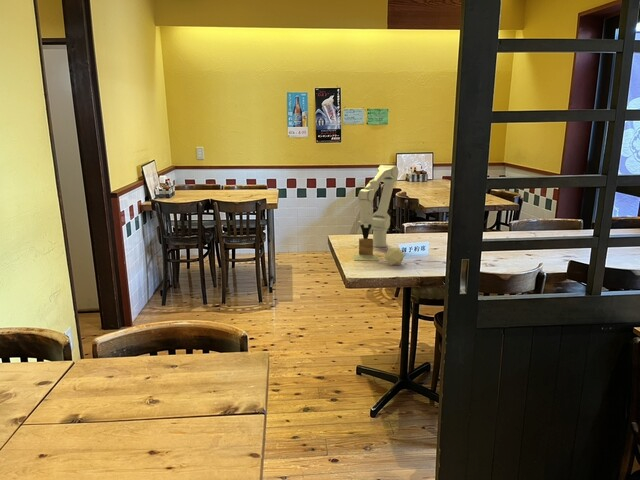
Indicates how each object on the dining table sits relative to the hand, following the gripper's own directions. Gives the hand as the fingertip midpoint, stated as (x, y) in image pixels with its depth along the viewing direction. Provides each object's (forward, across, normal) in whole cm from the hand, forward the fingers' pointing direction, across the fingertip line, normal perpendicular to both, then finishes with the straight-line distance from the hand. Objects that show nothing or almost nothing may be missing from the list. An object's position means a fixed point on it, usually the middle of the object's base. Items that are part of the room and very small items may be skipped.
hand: (365, 238), depth 243 cm
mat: (+7, +13, 0) cm, 15 cm away
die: (+7, +23, +13) cm, 28 cm away
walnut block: (+7, +6, 0) cm, 9 cm away
